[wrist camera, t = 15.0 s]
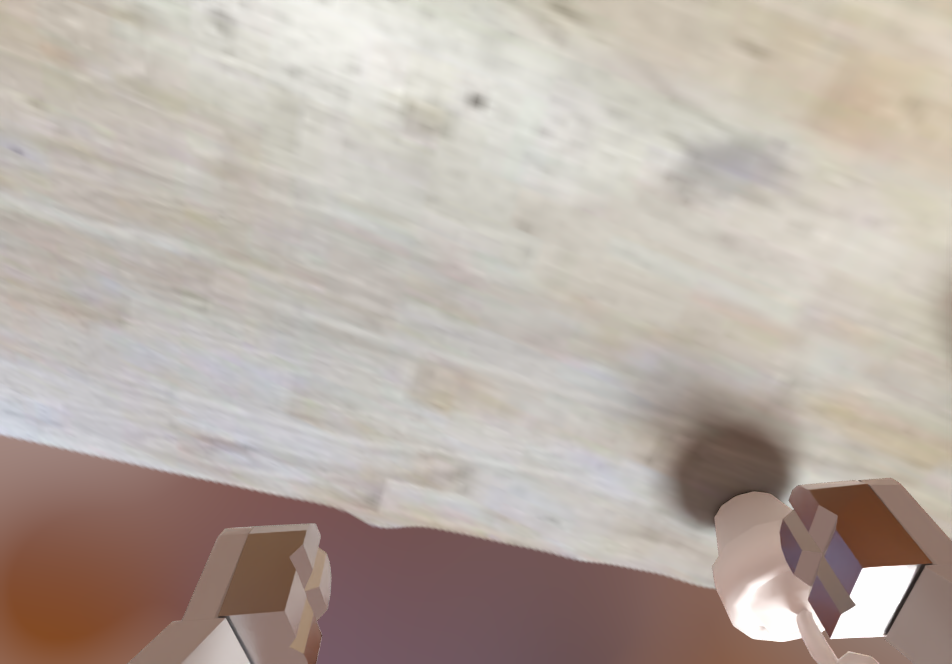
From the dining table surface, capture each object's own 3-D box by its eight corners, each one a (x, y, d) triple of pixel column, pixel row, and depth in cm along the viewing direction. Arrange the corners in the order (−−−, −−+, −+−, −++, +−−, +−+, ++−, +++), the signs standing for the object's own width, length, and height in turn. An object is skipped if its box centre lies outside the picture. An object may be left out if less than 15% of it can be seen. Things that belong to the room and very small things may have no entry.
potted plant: (663, 532, 57) (796, 852, 35) (739, 453, 52) (947, 768, 30) (757, 566, 60) (931, 878, 39) (837, 495, 56) (1087, 805, 34)
